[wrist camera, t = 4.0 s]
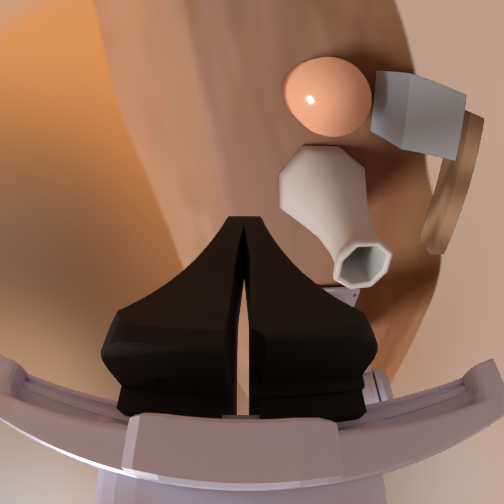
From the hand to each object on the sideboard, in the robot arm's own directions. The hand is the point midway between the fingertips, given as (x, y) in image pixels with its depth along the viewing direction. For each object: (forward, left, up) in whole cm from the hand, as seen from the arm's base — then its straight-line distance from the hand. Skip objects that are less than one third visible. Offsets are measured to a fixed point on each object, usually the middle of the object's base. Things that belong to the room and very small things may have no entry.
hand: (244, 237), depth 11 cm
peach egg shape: (+5, -5, -10) cm, 13 cm away
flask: (-2, -6, -11) cm, 12 cm away
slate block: (+5, -12, -11) cm, 17 cm away
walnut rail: (0, -18, -10) cm, 21 cm away
